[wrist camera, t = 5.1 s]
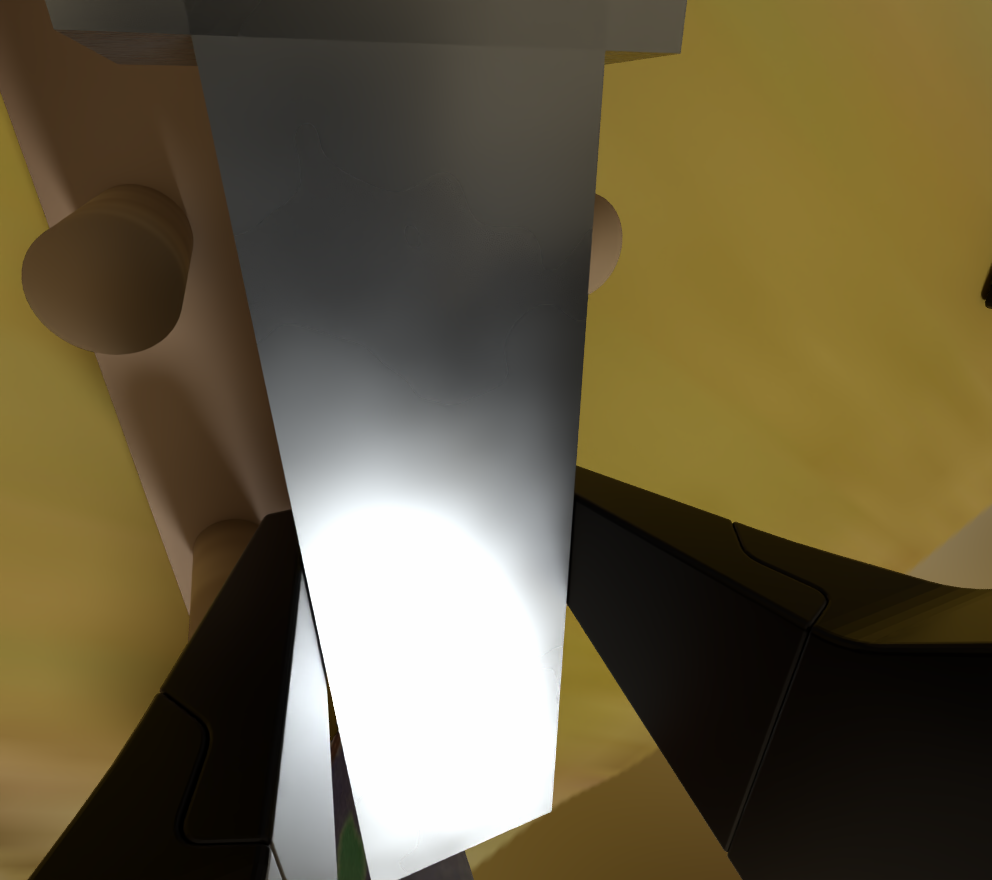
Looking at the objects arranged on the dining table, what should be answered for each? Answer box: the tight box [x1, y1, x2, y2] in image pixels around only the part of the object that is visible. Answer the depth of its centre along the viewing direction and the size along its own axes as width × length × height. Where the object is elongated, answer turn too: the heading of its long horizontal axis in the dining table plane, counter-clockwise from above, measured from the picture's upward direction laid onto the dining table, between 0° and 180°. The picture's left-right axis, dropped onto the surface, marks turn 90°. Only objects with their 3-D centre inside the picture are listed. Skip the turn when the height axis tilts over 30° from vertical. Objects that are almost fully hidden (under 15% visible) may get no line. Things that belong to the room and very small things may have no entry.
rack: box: [0, 0, 622, 642], centre depth 12 cm, size 9×14×5 cm, turn 179°
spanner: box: [45, 0, 687, 880], centre depth 8 cm, size 5×16×3 cm, turn 179°
